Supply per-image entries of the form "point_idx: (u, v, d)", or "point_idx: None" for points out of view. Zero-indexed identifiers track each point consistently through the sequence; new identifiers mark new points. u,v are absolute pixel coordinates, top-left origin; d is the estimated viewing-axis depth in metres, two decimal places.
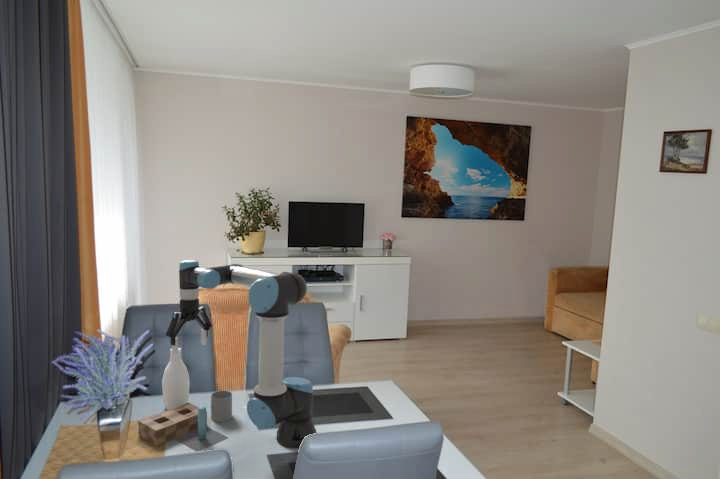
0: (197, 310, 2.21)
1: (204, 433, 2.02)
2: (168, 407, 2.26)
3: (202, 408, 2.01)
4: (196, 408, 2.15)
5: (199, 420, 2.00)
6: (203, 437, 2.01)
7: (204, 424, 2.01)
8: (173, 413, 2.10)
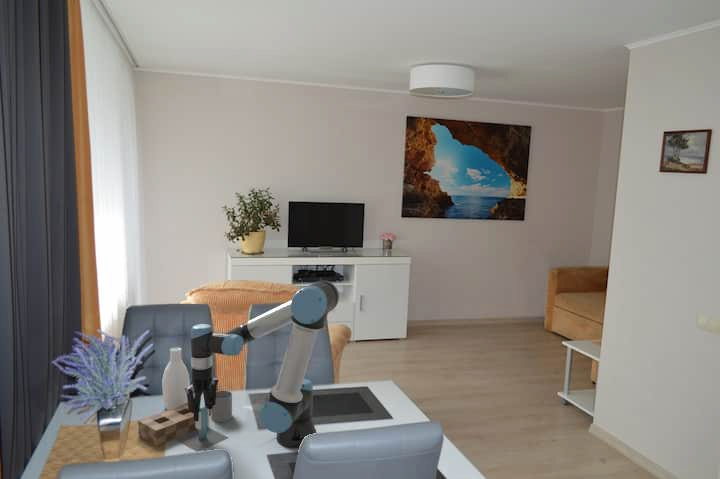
0: (210, 379, 2.02)
1: (204, 432, 2.01)
2: (168, 407, 2.26)
3: (202, 407, 2.01)
4: None
5: None
6: (203, 436, 2.01)
7: (204, 423, 2.01)
8: (173, 413, 2.10)
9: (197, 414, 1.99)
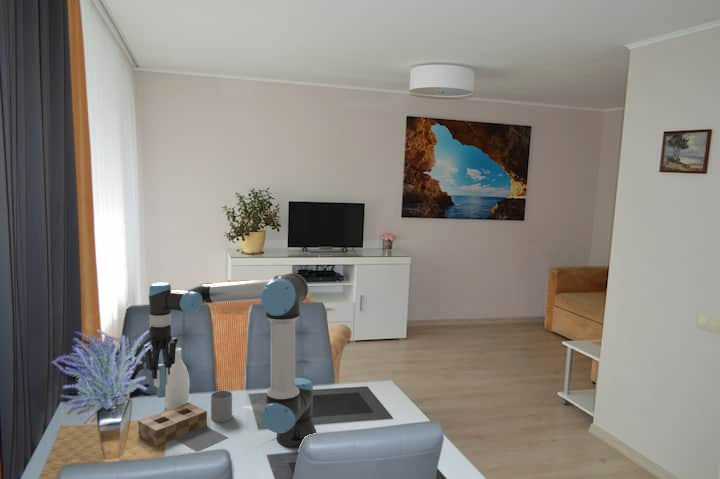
0: (169, 337, 2.02)
1: (163, 390, 2.02)
2: (168, 407, 2.26)
3: (161, 365, 2.01)
4: (196, 408, 2.15)
5: None
6: (162, 394, 2.02)
7: (163, 381, 2.02)
8: (173, 413, 2.10)
9: (155, 372, 1.99)
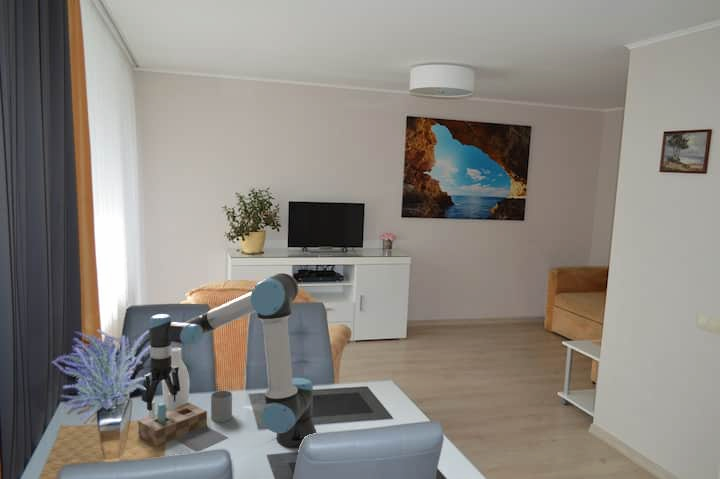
0: (170, 368, 2.04)
1: None
2: None
3: (162, 405, 2.04)
4: (196, 408, 2.15)
5: (158, 416, 2.03)
6: None
7: (164, 421, 2.04)
8: (173, 413, 2.10)
9: (150, 403, 1.99)
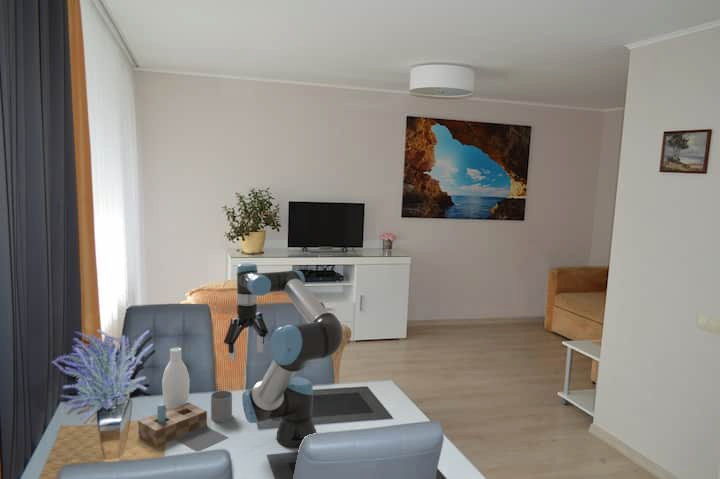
0: (254, 316, 2.11)
1: None
2: (168, 407, 2.26)
3: (161, 405, 2.03)
4: (196, 408, 2.15)
5: (158, 417, 2.03)
6: None
7: (163, 421, 2.03)
8: (173, 413, 2.10)
9: (232, 346, 2.04)
